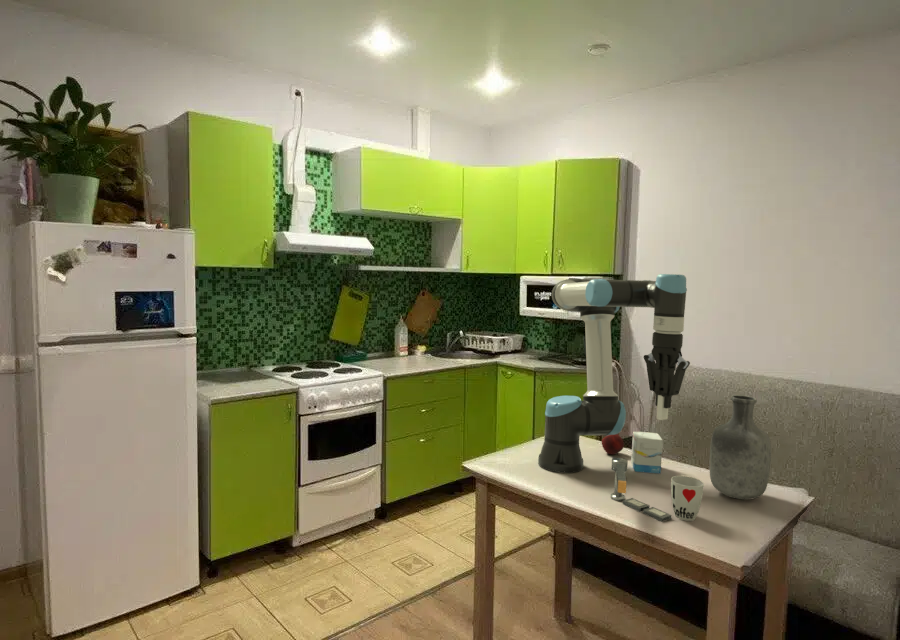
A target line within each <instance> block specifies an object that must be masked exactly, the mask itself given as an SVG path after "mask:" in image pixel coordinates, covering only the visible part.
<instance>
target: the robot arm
mask: <svg viewBox="0 0 900 640" xmlns="http://www.w3.org/2000/svg"><path fill="white" fill-rule="evenodd" d="M687 291H688V289H687V277H686V276H685V275H684V274H673V273H670V274H669V273H668V274H667V273H660V274H657V276H656V279H655V280H650V279H649V280H646V279H644V280H635V279H634V280H631V279H629V280H628V279H624V280H623V279H605V278H598V279H597V278H594V279H593V278H568V279H563V280H560V281H559V282H557V283H556V284H555V285H554V287H553V288H552V290H551V300H552V301H553V303H554V305H555V306H556V307H558V308H559V309H561V310H563V311H565V312H566V311H567V312H573V313H574V312H575V313H580V314H579V315H580V317H579V318H580V319H581V320H582V321H583V322H584V327H585V328H584V329H585V330H584V331H585V333H584V334H585V356H586V358H585V360H586V384H587V385H586V386H587V387H586V389H587V390H586V392H585V393H584V394H582V396H583V398H582V399H581V398H580V396H576V395H560V396H559V395H558V396H553V397H552V398H549V399H548V401H546V405H545V412H544V418H545V419H544V421H545V423H544V437H543V438H544V442H543V445H542V447H541V450H540V453H539V455H538V460H537V461H538V462H537V463H538V465H539V466H540V467H541V468H542V469H545V470H547V471H550V472H556V473H563V474H564V473H566V474H567V473H576V472H580V471H582V470H583V469H584V458H583V456H582V451H581V447H580V436H604V437H606V436H607V435H615V434H618V435H619V433H621V432H622V430H623V428H624V426H625V423H626V417H627V415H626V414H627V412H626V411H627V410H626V407H625V404H624V402H623V401H621V400H619V395H618V394H617V393H616V392H615V391H614V381H613V378H614V375H613V356H612V354H613V353H612V330H611V321H612V320H613V319H614V318H615V313H617V312H618V311H619V310H620V307H625V308H651V309H652V308H653V312H654V313H653V325H652V326H653V328H652V329H653V330H654V331H653V333H652V338H651V339H652V340H651V344H652V346H653V347H652V349H651V351H650V352H651V353H649V354H644V355H643V359H644V363H645V364H646V372H647V380H648V387H649V390H650V391H652V392H653V393H655V403H654V404H655V406H657V408H656V420H659V421H665V420H668V418H669V409H671V407H672V397H673V396H677V395H679V393H680V391H681V388H682V387H681V386H682V385H683V382H684V381H683V380H684V377H685V374H686V370H687V369H688V368H689V366H690V365H691V362H690V361H689V360H686V359H684V357H683V353H682V348H683V339H684V334H683V332H684V329H685V327H684V326H685V325H684V324H685V313H686V312H685V311H686V299H687ZM676 366H677V367H676Z"/></svg>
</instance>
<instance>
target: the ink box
mask: <svg viewBox="0 0 900 640" xmlns="http://www.w3.org/2000/svg"><path fill="white" fill-rule="evenodd" d="M663 441H664V440H663V438H662V437H661V436H660V434H659V433H657V432H647V431H632V444H631V455H630V457H631V459H630V463H631V466H632V469H633V470H634V472H638V473H647V474H649V473H651V474H661V472H662V456H663V443H664V442H663Z"/></svg>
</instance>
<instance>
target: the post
mask: <svg viewBox="0 0 900 640" xmlns="http://www.w3.org/2000/svg"><path fill="white" fill-rule="evenodd" d="M614 474H615V475H614V489H613V493H611V494H610V499H611V500H613V501H615V502H623V500H626V496H625V494H624V493H619V492H618V488H617V477H616V471H614Z"/></svg>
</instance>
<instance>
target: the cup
mask: <svg viewBox="0 0 900 640" xmlns="http://www.w3.org/2000/svg"><path fill="white" fill-rule="evenodd" d="M670 478H671V479H670V495H671V496H670V497H671V505H672V509H673V514H674V516H675V518H677V519H679V520H681V521H684V522H685V521H686V522H693V521H695V519H696V518H697V515H698V514H699V510H700V507H701V502H702V499H703V493H704V487H705V483H704V482H703V481H702V480H700V479H699V478H696V477H692V476H687V475H675V476H672V477H670Z"/></svg>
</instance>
